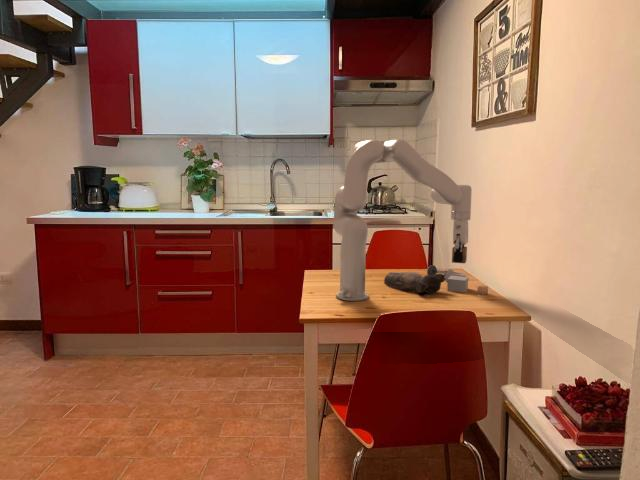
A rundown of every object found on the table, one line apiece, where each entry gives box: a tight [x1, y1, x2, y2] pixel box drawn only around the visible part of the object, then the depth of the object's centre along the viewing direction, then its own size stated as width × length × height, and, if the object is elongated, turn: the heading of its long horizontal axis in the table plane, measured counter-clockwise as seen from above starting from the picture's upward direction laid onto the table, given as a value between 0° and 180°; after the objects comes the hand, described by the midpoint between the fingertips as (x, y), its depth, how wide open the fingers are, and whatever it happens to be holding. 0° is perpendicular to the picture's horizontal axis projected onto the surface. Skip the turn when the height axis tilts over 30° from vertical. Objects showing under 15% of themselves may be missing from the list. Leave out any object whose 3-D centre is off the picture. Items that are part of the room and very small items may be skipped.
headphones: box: [419, 264, 467, 283], centre depth 216 cm, size 17×6×20 cm
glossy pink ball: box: [476, 284, 489, 296], centre depth 187 cm, size 4×4×3 cm
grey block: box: [446, 276, 469, 293], centre depth 194 cm, size 7×7×5 cm
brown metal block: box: [451, 245, 468, 264], centre depth 192 cm, size 5×5×6 cm
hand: (459, 260), depth 193 cm, fingers closed on brown metal block, 5 cm apart
